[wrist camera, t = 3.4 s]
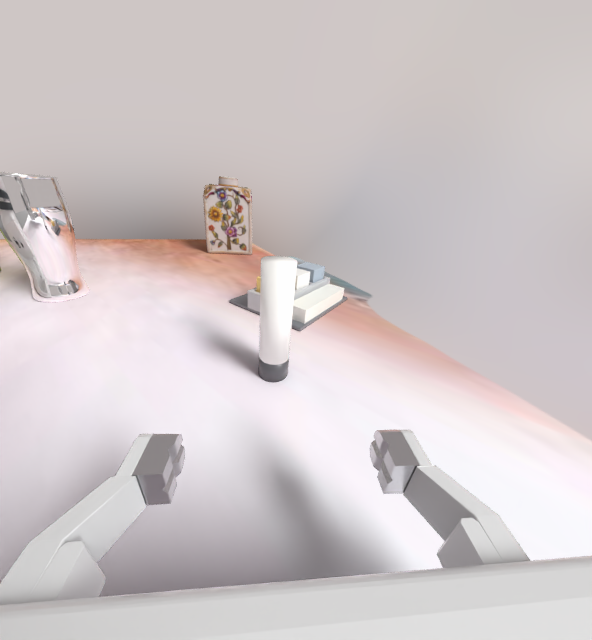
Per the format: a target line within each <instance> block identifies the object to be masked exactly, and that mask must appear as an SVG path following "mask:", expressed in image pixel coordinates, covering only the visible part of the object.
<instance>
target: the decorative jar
mask: <svg viewBox="0 0 592 640" xmlns="http://www.w3.org/2000/svg"><path fill="white" fill-rule="evenodd" d="M204 189H205V190H204V195H203V200H204V215H205V230H206V243H207V251H208V253H218V254H243V255H251V254H252V196H251V189H249V188H246V187H245V188H243V187H238V179H236V178H229V177H221V176H219V185H212V184H209V185H205V188H204Z"/></svg>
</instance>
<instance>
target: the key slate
mask: <svg viewBox="0 0 592 640" xmlns="http://www.w3.org/2000/svg"><path fill="white" fill-rule="evenodd" d="M297 268H299V269H302V270H306V271H310V280H309V282H312V283H315V282H317V281H319V280H322V279H323V277H324V269H325V266H321V265H317V264H313V263H309V262H306V263H302V264H299V265H297Z"/></svg>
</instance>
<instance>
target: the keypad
mask: <svg viewBox="0 0 592 640" xmlns="http://www.w3.org/2000/svg"><path fill="white" fill-rule="evenodd" d="M329 283H330V278H329V277H325V276H324V277H323V279H322V280H319V281H317V282H315V283H312V282H309V285H308V286H306V287H303V288H301V289H299V290H295V293H294V305H293V316H292V328H293V329H295V330H298V331H301V330H303V329H304V328H306V327H307V326H309V325H310V324H311V323H313V322H314V321H316V320H317V319H319V318H320V317H322V316H323V315H325V314H326V313H328V312H329V311H331V310H332V309H334V308H335V307H337V306H338V305H340V304H341V303H343V302H344V301H346V300H347V297H344V296H343V292H344V288H342V287H338V286H335V285H331V284H329ZM229 301H230V303H232V304H234V305H237V306H239V307H242V308H244V309H247V310H249V311H252V312H254V313H256V314H259V315H260V293H259V292H257V288H254V289H251V290H248V294H245V295H242V296H239V297H237V298H234V299H231V300H229Z"/></svg>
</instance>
